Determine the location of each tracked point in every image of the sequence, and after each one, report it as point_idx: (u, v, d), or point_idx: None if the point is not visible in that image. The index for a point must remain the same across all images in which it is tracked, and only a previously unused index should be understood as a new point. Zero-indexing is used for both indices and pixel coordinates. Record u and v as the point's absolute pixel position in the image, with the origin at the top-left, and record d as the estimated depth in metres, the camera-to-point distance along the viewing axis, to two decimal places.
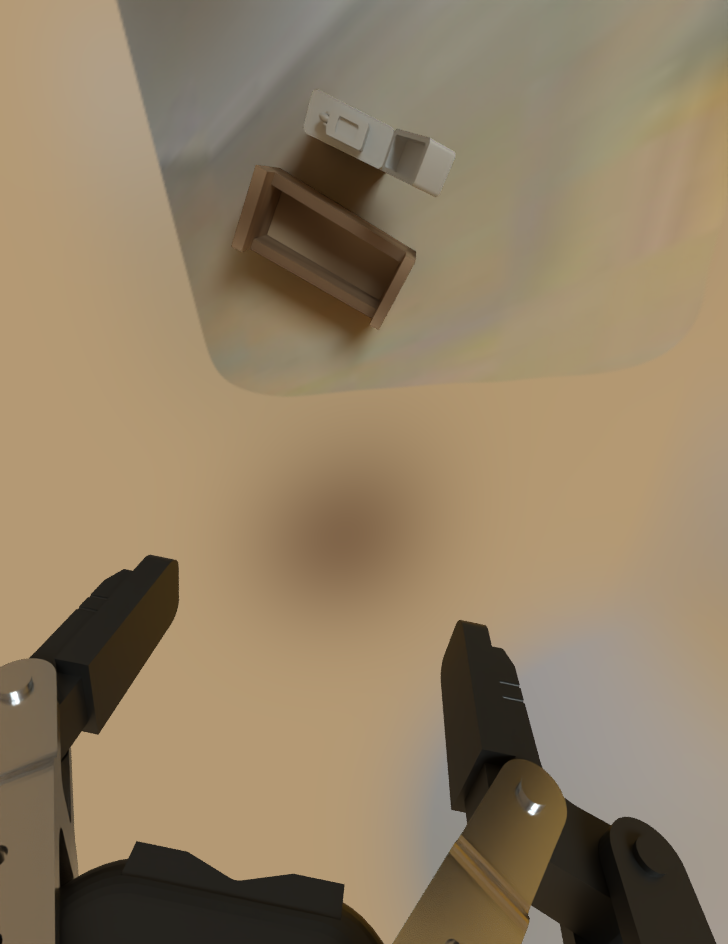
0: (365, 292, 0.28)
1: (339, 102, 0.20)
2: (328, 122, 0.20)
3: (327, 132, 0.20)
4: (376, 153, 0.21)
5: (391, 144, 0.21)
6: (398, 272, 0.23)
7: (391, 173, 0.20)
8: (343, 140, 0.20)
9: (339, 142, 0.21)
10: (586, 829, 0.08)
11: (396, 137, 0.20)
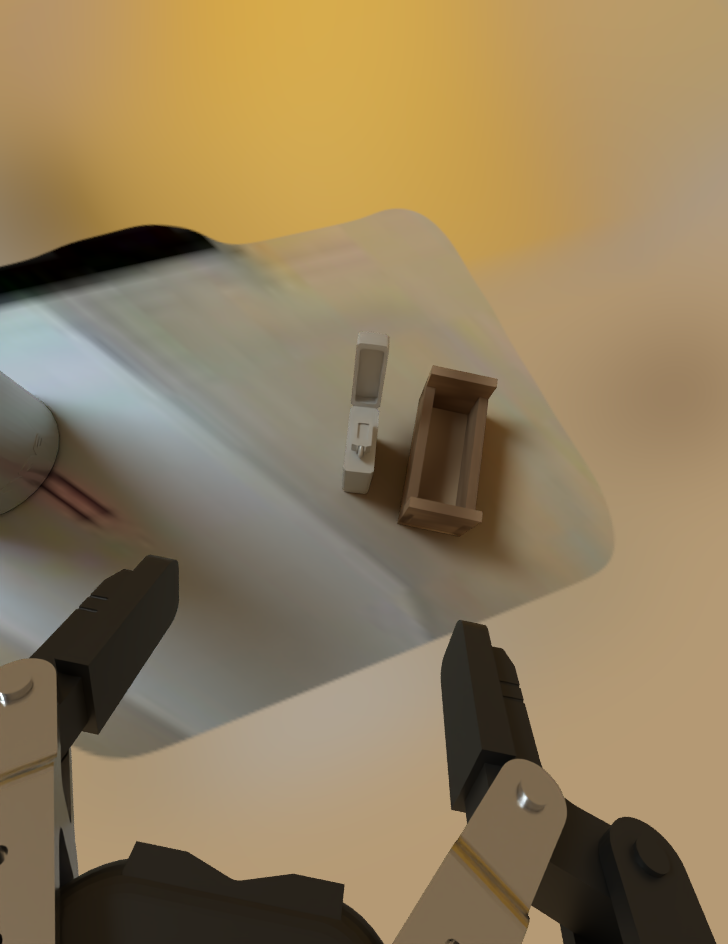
0: (466, 426, 0.30)
1: (346, 448, 0.25)
2: (363, 445, 0.24)
3: (369, 444, 0.24)
4: (370, 414, 0.26)
5: (361, 404, 0.26)
6: (445, 375, 0.27)
7: (381, 388, 0.25)
8: (371, 433, 0.24)
9: (371, 443, 0.25)
10: (586, 829, 0.08)
11: (356, 400, 0.26)
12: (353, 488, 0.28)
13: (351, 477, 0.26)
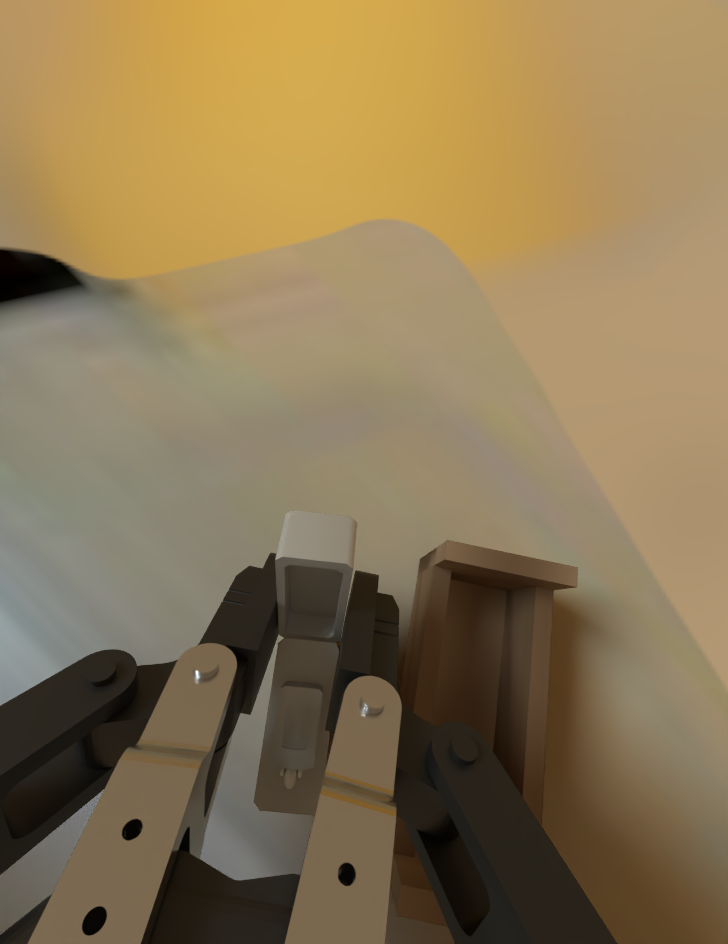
0: (506, 618, 0.16)
1: (264, 750, 0.11)
2: (295, 766, 0.11)
3: (311, 764, 0.11)
4: (318, 658, 0.12)
5: (301, 636, 0.12)
6: (473, 562, 0.13)
7: (341, 620, 0.11)
8: (316, 728, 0.11)
9: (319, 733, 0.12)
10: (422, 734, 0.09)
11: (290, 630, 0.12)
12: None
13: None
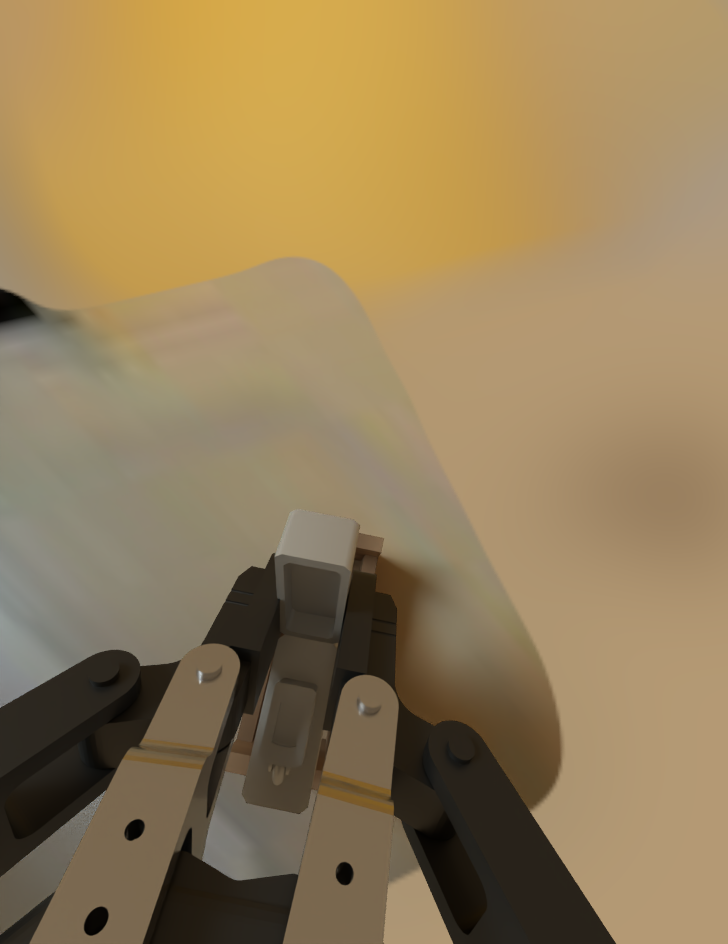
0: None
1: (256, 743, 0.12)
2: (284, 763, 0.11)
3: (298, 763, 0.11)
4: (316, 658, 0.12)
5: (300, 634, 0.12)
6: None
7: (339, 622, 0.11)
8: (306, 727, 0.11)
9: (311, 732, 0.12)
10: (419, 733, 0.09)
11: (290, 627, 0.12)
12: None
13: None
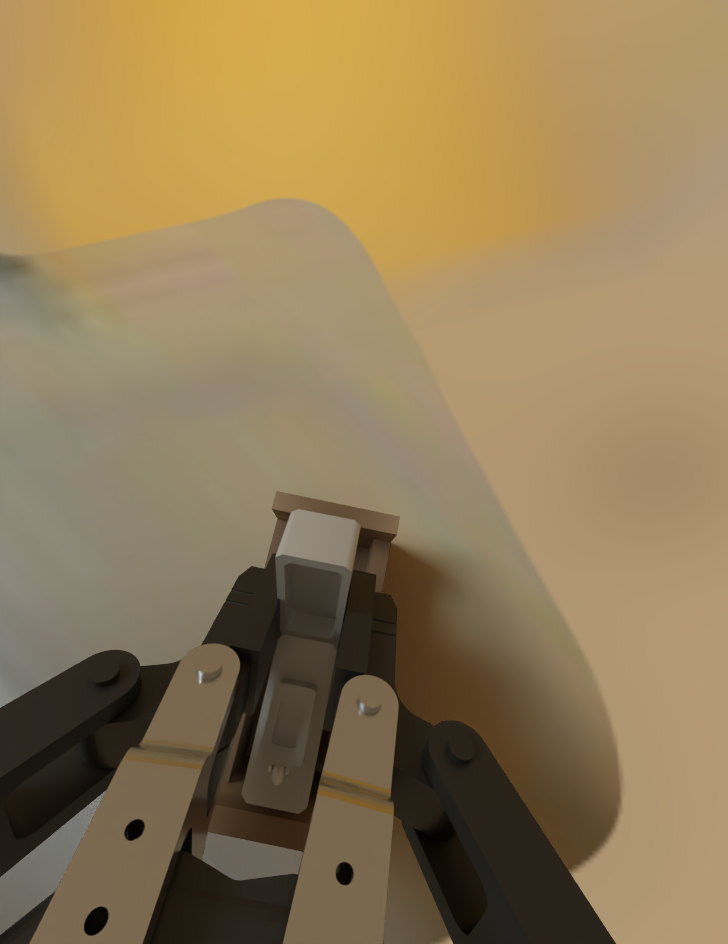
0: None
1: (256, 743, 0.12)
2: (284, 763, 0.11)
3: (298, 763, 0.11)
4: (316, 658, 0.12)
5: (300, 634, 0.12)
6: None
7: (339, 622, 0.11)
8: (306, 727, 0.11)
9: (311, 733, 0.12)
10: (419, 733, 0.09)
11: (290, 628, 0.12)
12: None
13: None
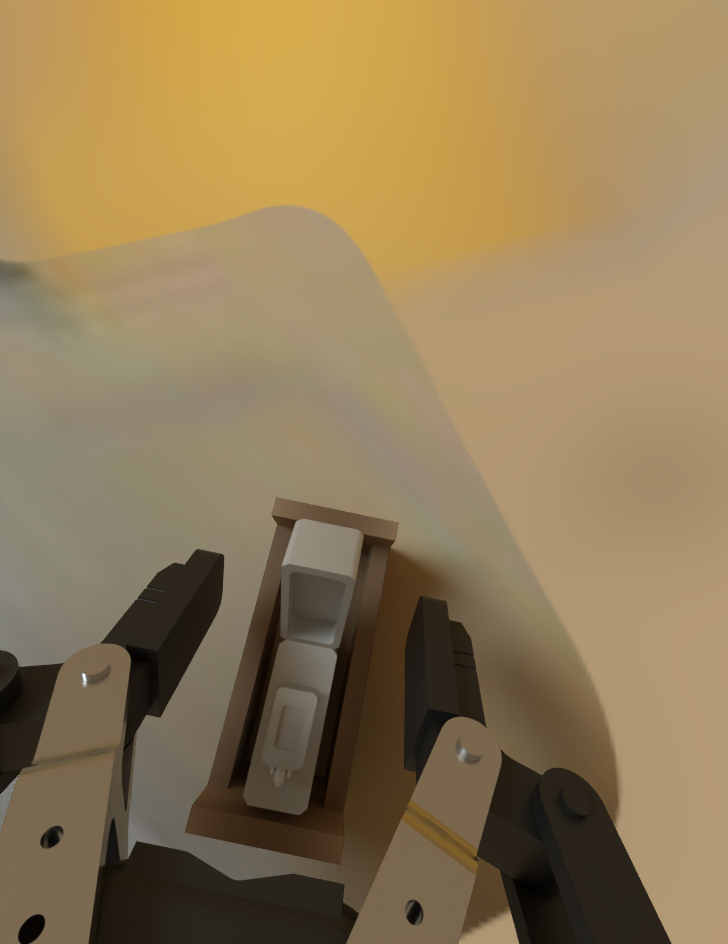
0: (363, 579, 0.17)
1: (257, 747, 0.12)
2: (286, 766, 0.11)
3: (300, 766, 0.11)
4: (317, 663, 0.13)
5: (301, 639, 0.13)
6: (298, 518, 0.14)
7: (341, 628, 0.12)
8: (308, 731, 0.11)
9: (311, 736, 0.12)
10: (521, 780, 0.08)
11: (291, 633, 0.12)
12: None
13: None
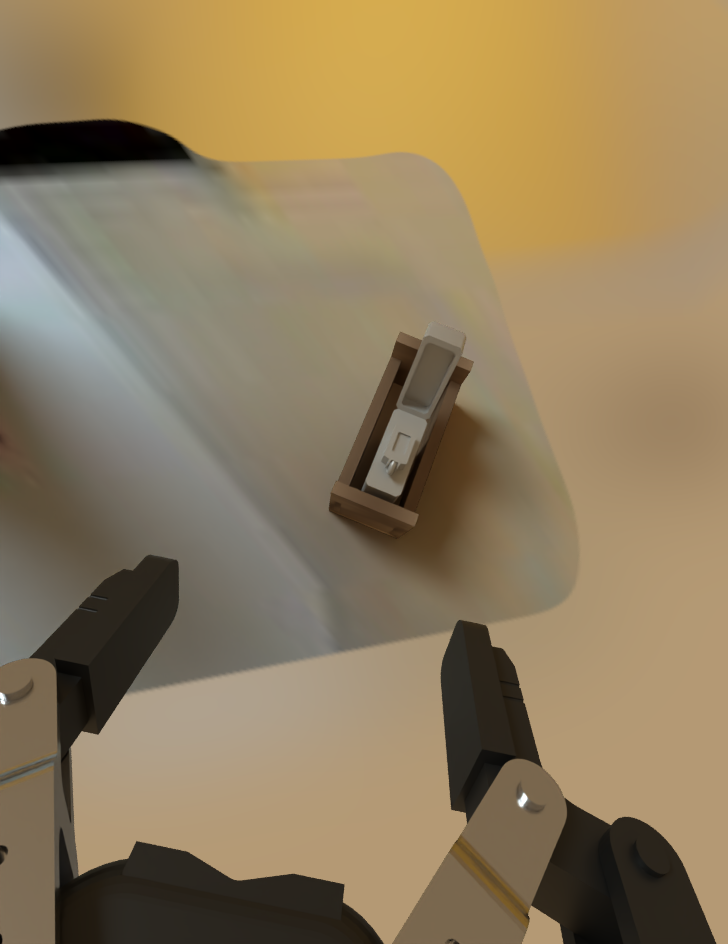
0: (433, 414, 0.26)
1: (376, 458, 0.20)
2: (396, 461, 0.19)
3: (405, 462, 0.19)
4: (414, 424, 0.21)
5: (407, 409, 0.21)
6: (412, 346, 0.22)
7: (438, 398, 0.20)
8: (410, 449, 0.20)
9: None
10: (586, 829, 0.08)
11: (403, 403, 0.21)
12: None
13: (371, 493, 0.21)
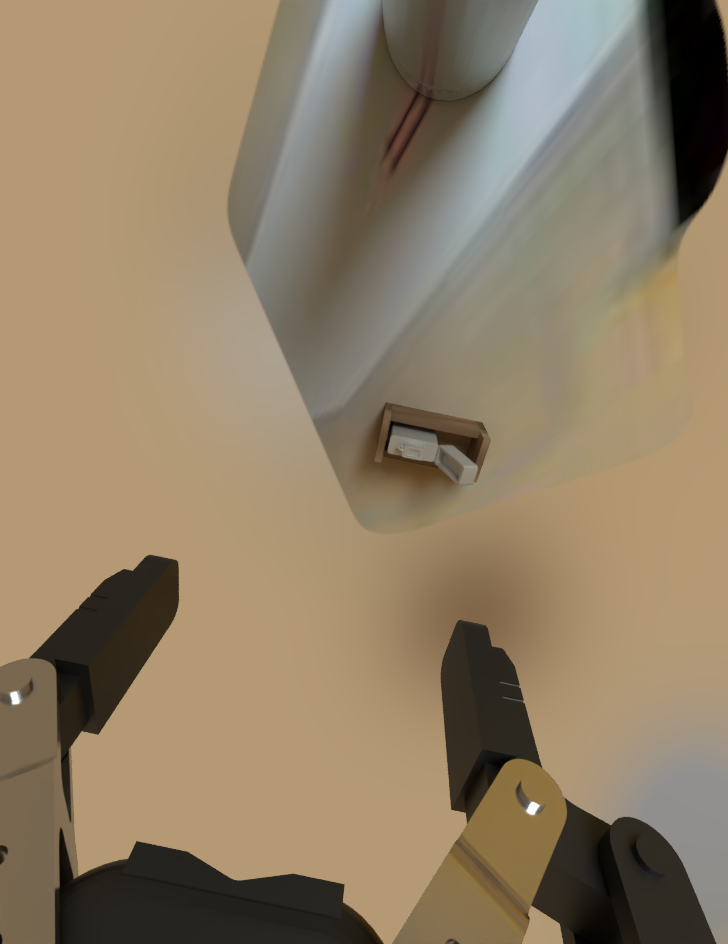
0: None
1: (406, 438, 0.37)
2: (403, 451, 0.36)
3: (403, 456, 0.36)
4: (429, 455, 0.37)
5: (437, 451, 0.37)
6: (481, 448, 0.37)
7: (441, 469, 0.36)
8: (411, 457, 0.37)
9: None
10: (586, 829, 0.08)
11: (440, 449, 0.37)
12: (390, 429, 0.40)
13: (390, 435, 0.38)
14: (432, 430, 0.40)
